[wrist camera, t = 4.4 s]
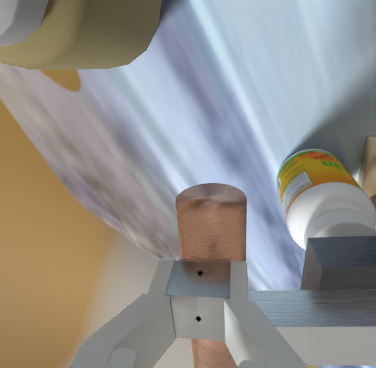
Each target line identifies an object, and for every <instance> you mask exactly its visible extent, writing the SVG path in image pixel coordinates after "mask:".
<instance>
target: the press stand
mask: <svg viewBox="0 0 376 368" xmlns="http://www.w3.org/2000/svg"><path fill="white" fill-rule="evenodd" d="M358 185H359V186H360V187H361V188H362V190H363V191H364V192H365V193H366V194H367V196H368V197H369V198H370V200H371V201H372V203H373V205H374V207H375V210H376V136H367V140H366V145H365V150H364V155H363V160H362V164H361V169H360V174H359V179H358Z"/></svg>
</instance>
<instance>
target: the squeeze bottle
mask: <svg viewBox="0 0 376 368" xmlns="http://www.w3.org/2000/svg"><path fill="white" fill-rule="evenodd" d="M161 3H162V0H0V62H1V63H5V64H9V65H13V66H18V67H22V68H26V69H109V68H114V67H119V66H123V65H128V64H129V63H131V62H132V61H133V60H134V59H136V58H137V57H138V56H139V55H141V54H142V53H143V52H144V51H146V50H147V48H148V46H149V44H150V42H151V40H152V38H153V36H154V34H155V33H156V31H157V29H158V26H159V18H160V11H161Z"/></svg>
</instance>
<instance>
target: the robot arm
mask: <svg viewBox="0 0 376 368" xmlns="http://www.w3.org/2000/svg"><path fill="white" fill-rule="evenodd" d="M175 338H193V339H205V340H213V341H222V342H225V344H226V346H227V347H228V349H229V351H230V353H231V355H232V357H233V359H234V361H235V363H236V365H237V366H238V368H307V366H306V364H305V363H304V362H303V361H302V359H301V358H300V357H299V356H298V354H297V353H296V352H295V351H294V350H293V348H292V347H291V346H290V345H289V344H288V342H287V341H286V340H285V339H284V337H283V336H282V335H281V334H280V333H279V331H278V330H277V329H276V328H275V327H274V325H273V324H272V323H271V322H270V320H269V319H268V318H267V317H266V316H265V314H264V313H263V312H262V311H261V310H260V308H259V307H258V306H257V305H256V303H255V302H254V301H249V299H248V278H247V263H246V261H231V264H230V261H213V260H194V259H179V258H176V259H174V258H161V259H160V260H159V263H158V266H157V269H156V272H155V274H154V277H153V280H152V283H151V286H150V288H149V291H148V294H142V295H141V296H140V297H139V298H138V299H136V300H135V301H134V302H132V303H131V304H130V305H129V306H128V307H126V308H125V309H124V310H123V311H121V312H120V313H119V314H118V315H116V316H115V317H114V318H113V319H111V320H110V321H109V322H108V323H106V324H105V325H104V326H103V327H101V328H100V329H99V330H97V331H96V332H95V333H94V334H93V335H91V336H90V337H89V338H88V339H86V340H85V341H84V342H82V344H81V346H80V348H79V350H78V352H77V354H76V356H75V358H74V360H73V362H72V364H71V366H70V368H153V367H154V365H155V364H156V363H157V362H158V360H159V359H160V358H161V357H162V355H163V354H164V353H165V352H166V350H167V349H168V348H169V346H170V345H171V344H172V343H173V342H174V340H175Z"/></svg>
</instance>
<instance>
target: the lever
mask: <svg viewBox="0 0 376 368" xmlns="http://www.w3.org/2000/svg"><path fill="white" fill-rule="evenodd" d="M176 211H177V220H178V229H179V238H180V247H181V256H182V259H194V260H213V261H230V264H231V261H246V215H247V198H246V195H245V194H244V193H243V192H242V191H241V190H240V189H238V188H236V187H233V186H230V185H226V184H219V183H208V184H200V185H196V186H193V187H190V188H188V189H186V190H184V191H183V192H181V193H180V194H179V195H178V196H177V198H176ZM248 299H249V301H254V302H255V303H256V305H257V306H258V307H259V308H260V310H261V311H262V312H263V313H264V314H265V316H266V317H267V318H268V319H269V320H270V322H271V323H272V324H273V325H274V327H275V328H276V329H277V330H278V331H279V333H280V334H281V335H282V336H283V337H284V339H285V340H286V341H287V342H288V344H289V345H290V346H291V347H292V348H293V350H294V351H295V352H296V353H297V354H298V356H299V357H300V358H301V359H302V361H303V362H304V363H305V364H306V365H376V236H351V237H315V238H307V246H306V253H305V261H304V268H303V276H302V283H301V290H284V291H248ZM191 346H192V355H193V363H194V368H238V366H237V365H236V363H235V361H234V359H233V357H232V355H231V353H230V351H229V349H228V347H227V346H226V344H225V342H222V341H213V340H205V339H193V338H191Z"/></svg>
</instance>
